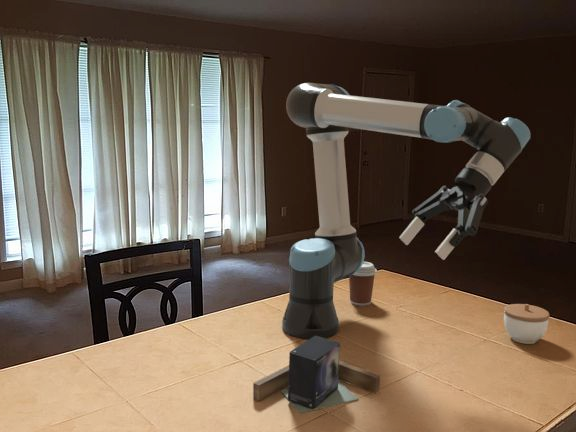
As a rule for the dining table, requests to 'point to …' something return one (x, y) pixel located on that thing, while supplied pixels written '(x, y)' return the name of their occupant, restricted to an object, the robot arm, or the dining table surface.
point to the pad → (328, 399)
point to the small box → (313, 371)
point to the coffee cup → (362, 284)
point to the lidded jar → (525, 322)
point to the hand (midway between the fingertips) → (420, 248)
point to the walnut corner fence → (346, 374)
